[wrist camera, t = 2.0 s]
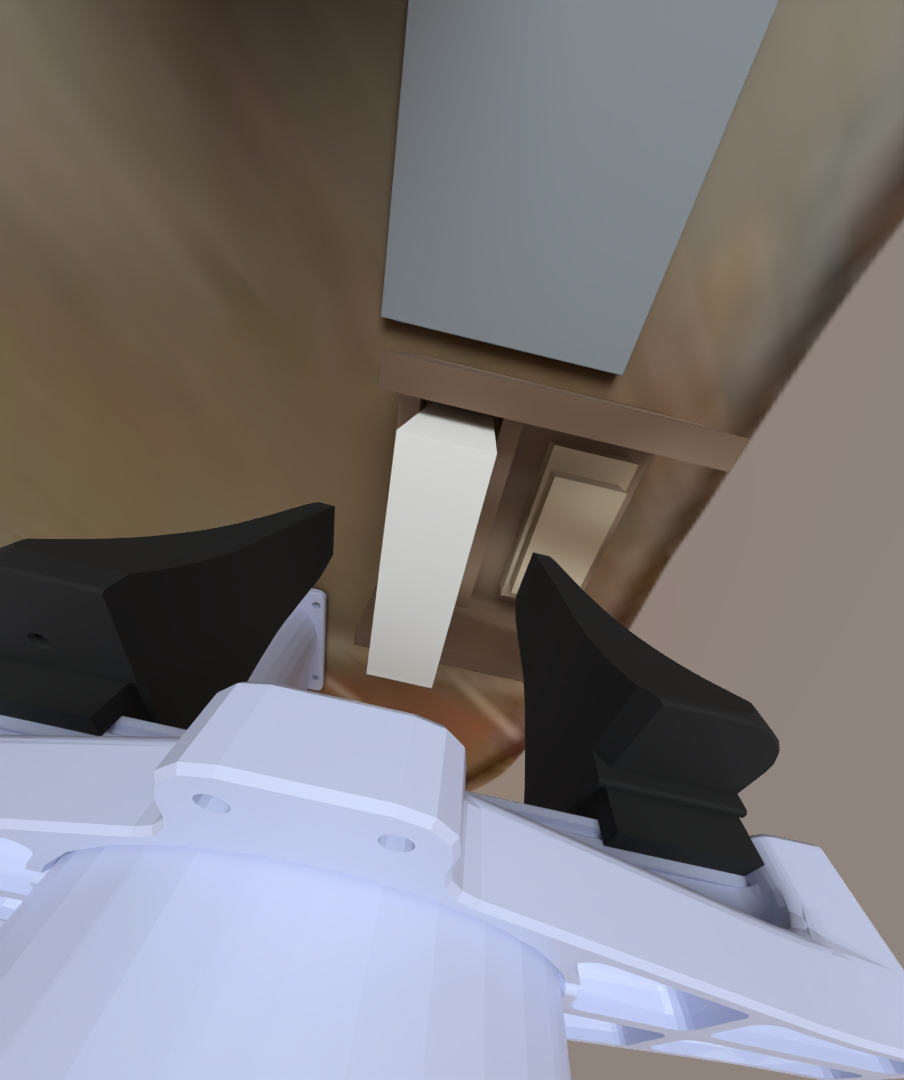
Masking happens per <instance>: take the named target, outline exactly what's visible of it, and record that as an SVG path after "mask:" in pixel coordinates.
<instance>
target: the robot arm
mask: <svg viewBox="0 0 904 1080" xmlns="http://www.w3.org/2000/svg"><path fill="white" fill-rule="evenodd" d="M334 514H335V506H332V505H328V504H323V503H319V502H317V503H311V504H307V505H303V506H300V507H296V508H293V509H289V510H286V511H282V512H279V513H276V514H272V515H269V516H265V517H261V518H257V519H253V520H250V521H246V522H242V523H238V524H233V525H229V526H224V527H219V528H213V529H207V530H201V531H195V532H186V533H177V534H169V535H160V536H149V537H134V538H113V539H25V540H21V541H18V542H15V543H12V544H10V545H7V546H4V547H2V548H0V1080H571V1075H570V1066H569V1057H568V1048H567V1040H573V1041H580V1042H586V1043H593V1044H600V1045H607V1046H614V1047H622V1048H628V1049H635V1050H642V1051H649V1052H656V1053H664V1054H670V1055H677V1056H684V1057H691V1058H698V1059H704V1060H711V1061H717V1062H724V1063H731V1064H736V1065H743V1066H748V1067H754V1068H760V1069H765V1070H771V1071H777V1072H782V1073H788V1074H793V1075H798V1076H803V1077H808V1078H813V1079H819V1080H880V1079H896V1078H904V970H903V969H902V967H901V966H900V964H899V963H898V961H897V960H896V958H895V957H894V955H893V954H892V952H891V951H890V949H889V948H888V946H887V945H886V944H885V942H884V941H883V939H882V938H881V936H880V935H879V933H878V932H877V930H876V929H875V927H874V926H873V924H872V923H871V921H870V920H869V919H868V917H867V916H866V914H865V913H864V911H863V910H862V909H861V907H860V905H859V904H858V902H857V901H856V900H855V898H854V896H853V895H852V894H851V892H850V891H849V889H848V888H847V886H846V885H845V883H844V882H843V880H842V879H841V877H840V876H839V874H838V873H837V871H836V870H835V868H834V867H833V866H832V864H831V863H830V861H829V860H828V858H827V857H826V855H825V854H824V852H823V851H822V849H821V848H819V847H817V846H815V845H813V844H809V843H804V842H800V841H796V840H791V839H786V838H782V837H777V836H773V835H765V834H759V835H752V836H749V835H748V833H747V831H746V829H745V827H744V826H743V824H742V822H741V820H740V818H739V817H741V818H743V817H745V816H746V815H747V810H746V808H745V806H744V805H743V803H742V801H741V799H740V798H739V796H738V793H739V792H740V791H741V790H743V789H744V788H745V787H747V786H748V785H749V784H751V783H752V782H753V781H754V780H756V779H757V778H758V777H760V776H761V775H762V774H764V773H765V772H766V771H767V770H768V769H769V768H770V767H771V766H772V765H773V764H774V762H775V760H776V758H777V756H778V753H779V751H780V750H779V740H778V739H777V737H776V736H775V734H774V733H773V731H772V730H771V729H770V727H769V726H768V725H767V723H766V722H765V721H764V719H763V718H762V717H761V715H760V714H759V713H758V711H757V710H756V709H755V707H754V706H753V705H752V704H751V703H750V702H749V701H747V700H745V699H743V698H741V697H739V696H736V695H735V694H733V693H731V692H729V691H727V690H725V689H723V688H721V687H719V686H717V685H715V684H713V683H712V682H710V681H708V680H706V679H704V678H702V677H700V676H699V675H697V674H695V673H693V672H691V671H690V670H688V669H686V668H685V667H683V666H681V665H680V664H678V663H676V662H675V661H673V660H671V659H670V658H668V657H667V656H665V655H663V654H662V653H660V652H659V651H657V650H656V649H654V648H653V647H651V646H650V645H648V644H647V643H646V642H644V641H643V640H641V639H640V638H638V637H637V636H636V635H634V634H633V633H632V632H630V631H629V630H628V629H626V628H625V627H624V626H623V625H621V624H620V623H619V622H618V621H616V620H615V619H614V618H613V617H611V616H610V615H609V614H608V613H607V612H606V611H604V610H603V609H602V608H601V607H600V606H599V605H598V604H597V603H596V602H595V601H594V600H593V599H592V598H590V597H589V596H588V595H587V594H586V593H585V592H584V591H583V590H582V589H581V588H580V587H579V585H578V584H577V583H576V582H575V581H574V580H573V579H572V578H571V577H570V576H569V575H568V574H567V573H566V572H565V571H564V570H563V569H562V567H561V566H560V565H559V564H558V563H557V562H556V561H555V560H554V559H553V558H551V557H550V556H547V555H543V554H538V553H534V552H533V554H532V556H531V559H530V561H529V564H528V566H527V569H526V572H525V574H524V577H523V579H522V582H521V584H520V587H519V589H518V592H517V595H516V609H515V614H516V628H517V636H518V643H519V650H520V657H521V664H522V671H523V679H524V695H525V795H524V804H523V803H519V802H514V801H509V800H505V799H500V798H496V797H491V796H487V795H482V794H478V793H473V792H469V791H465V777H466V756H465V747H464V746H463V745H462V744H461V743H460V742H459V741H458V740H457V739H456V738H455V737H454V736H453V735H452V734H451V733H450V732H449V731H448V730H447V729H446V728H445V727H444V726H443V725H441V724H438V723H436V722H434V721H431V720H429V719H426V718H424V717H421V716H419V715H416V714H412V713H407V712H403V711H398V710H394V709H389V708H385V707H380V706H376V705H371V704H367V703H362V702H358V701H353V700H349V699H344V698H340V697H335V696H331V695H326V694H322V693H317V692H313V691H308V690H307V689H313V690H321V689H322V687H323V685H324V668H325V635H326V601H327V597H326V594H325V593H324V592H323V591H321V590H318V589H313V588H312V587H313V586H314V584H315V583H316V582H317V580H318V579H319V578H320V576H321V575H322V573H323V572H324V570H325V568H326V567H327V565H328V563H329V561H330V559H331V557H332V555H333V541H334ZM316 602H317V603H319V604H320V605H319V604H317V603H316Z"/></svg>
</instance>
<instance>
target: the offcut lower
mask: <svg viewBox="0 0 904 1080" xmlns="http://www.w3.org/2000/svg"><path fill="white" fill-rule="evenodd" d="M638 466H639V465H638V464H637V463H635V462H634V461H632V460H631V459H629V458H625V457H621V456H616V455H612V454H608V453H604V452H600V451H595V450H591V449H587V448H583V447H579V446H574V445H570V444H566V443H562V442H558V441H553V440H550V442H549V445H548V448H547V451H546V454H545V457H544V460H543V462H542V465H541V468H540V471H539V474H538V477H537V480H536V482H535V485H534V488H533V491H532V494H531V497H530V500H529V502H528V505H527V508H526V511H525V514H524V517H523V519H522V522H521V525H520V528H519V531H518V534H517V537H516V539H515V542H514V545H513V548H512V551H511V554H510V557H509V559H508V562H507V565H506V568H505V571H504V574H503V576H502V579H501V582H500V592H501V595H503V596H508V597H512V598H516V595H517V594H515V593H511V587H510V579H511V576H512V573H513V571H514V568H515V565H516V563H517V560H518V557H519V554H520V552H521V549H522V546H523V544H524V541H525V538H526V535H527V533H528V530H529V527H530V524H531V522H532V519H533V516H534V514H535V511H536V508H537V505H538V503H539V500H540V497H541V494H542V492H543V489H544V486H545V484H546V481H547V478H548V475H549V473H550V470H551V469H552V470H556V471H560V472H565V473H569V474H573V475H577V476H582V477H586V478H590V479H594V480H598V481H603V482H607V483H611V484H615V485H619V486H620V487H621V488H622V489H623V490H624V491H625V492H626V490H627V488H628V486H629V484H630V482H631V480H632V478H633V476H634V474H635V472H636V470H637V468H638Z"/></svg>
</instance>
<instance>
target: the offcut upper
mask: <svg viewBox="0 0 904 1080" xmlns="http://www.w3.org/2000/svg"><path fill="white" fill-rule="evenodd" d="M626 495H627V493H626V492H625V491H624V490H623V489H622V488H621V487H620V486H619V485H615V484H611V483H607V482H603V481H598V480H594V479H590V478H586V477H582V476H577V475H573V474H569V473H565V472H560V471H556V470H552V469H551V470H550V473H549V475H548V478H547V481H546V484H545V486H544V489H543V492H542V494H541V497H540V500H539V503H538V505H537V508H536V511H535V514H534V516H533V519H532V522H531V524H530V527H529V530H528V533H527V535H526V538H525V541H524V544H523V546H522V549H521V552H520V554H519V557H518V560H517V563H516V565H515V568H514V571H513V573H512V576H511V579H510V587H511V593H515V594H517V592H518V589H519V587H520V584H521V582H522V579H523V577H524V574H525V572H526V569H527V566H528V564H529V561H530V559H531V556H532V554H533V552H534V553H538V554H543V555H547V556H550V557H551V558H553V559H554V560H555V561H556V562H557V563H558V564H559V565H560V566H561V567H562V569H563V570H564V571H565V572H566V573H567V574H568V575H569V576H570V577H571V578H572V579H573V580H574V581H575V582H576V583H577V584H578V585H579V587H581V585H582V583H583V581H584V579H585V577H586V575H587V573H588V571H589V569H590V567H591V565H592V563H593V561H594V559H595V557H596V555H597V553H598V551H599V549H600V547H601V545H602V543H603V541H604V539H605V537H606V535H607V533H608V531H609V529H610V527H611V525H612V523H613V521H614V519H615V517H616V515H617V513H618V511H619V509H620V507H621V505H622V503H623V501H624V499H625V497H626Z"/></svg>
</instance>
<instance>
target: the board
mask: <svg viewBox="0 0 904 1080" xmlns="http://www.w3.org/2000/svg"><path fill="white" fill-rule="evenodd" d="M496 456H497V449H496V440H495V432H494V423H493V416H492V415H488V414H484V413H480V412H476V411H471V410H467V409H463V408H459V407H455V406H451V405H446V404H442V403H438V402H434V401H433V402H432V403H431V404H429V405H428V406H427V407H426V408H424V409H423V410H422V411H420V412H419V413H418V414H417V415H415V416H414V417H413V418H411V419H410V420H409V421H408V422H406V423H405V424H404V425H402V426H401V427H400V428H398V429H397V431H396V439H395V447H394V455H393V463H392V471H391V479H390V488H389V496H388V504H387V512H386V520H385V528H384V536H383V544H382V552H381V560H380V568H379V576H378V584H377V592H376V601H375V609H374V617H373V625H372V633H371V641H370V649H369V657H368V665H367V673H366V674H369V675H374V676H378V677H383V678H387V679H392V680H397V681H401V682H406V683H410V684H415V685H419V686H424V687H428V688H432V686H433V682H434V678H435V675H436V671H437V668H438V664H439V660H440V657H441V653H442V650H443V646H444V642H445V639H446V635H447V632H448V628H449V625H450V621H451V617H452V614H453V610H454V607H455V603H456V599H457V596H458V592H459V589H460V585H461V581H462V578H463V574H464V571H465V567H466V563H467V560H468V556H469V553H470V549H471V545H472V542H473V538H474V535H475V531H476V527H477V524H478V520H479V517H480V513H481V509H482V506H483V502H484V499H485V495H486V492H487V488H488V484H489V481H490V477H491V474H492V470H493V466H494V463H495V459H496Z"/></svg>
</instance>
